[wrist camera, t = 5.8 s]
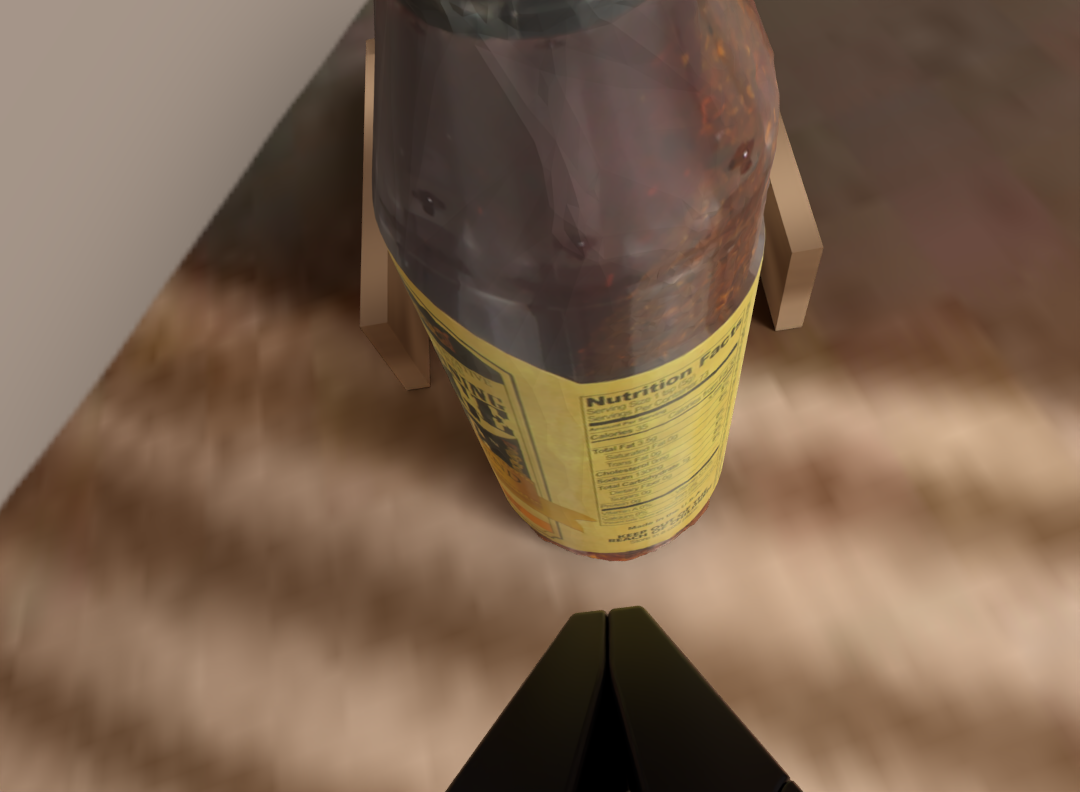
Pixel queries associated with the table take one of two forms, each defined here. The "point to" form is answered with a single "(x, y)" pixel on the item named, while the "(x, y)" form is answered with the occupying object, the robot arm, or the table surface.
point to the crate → (407, 341)
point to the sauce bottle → (582, 240)
